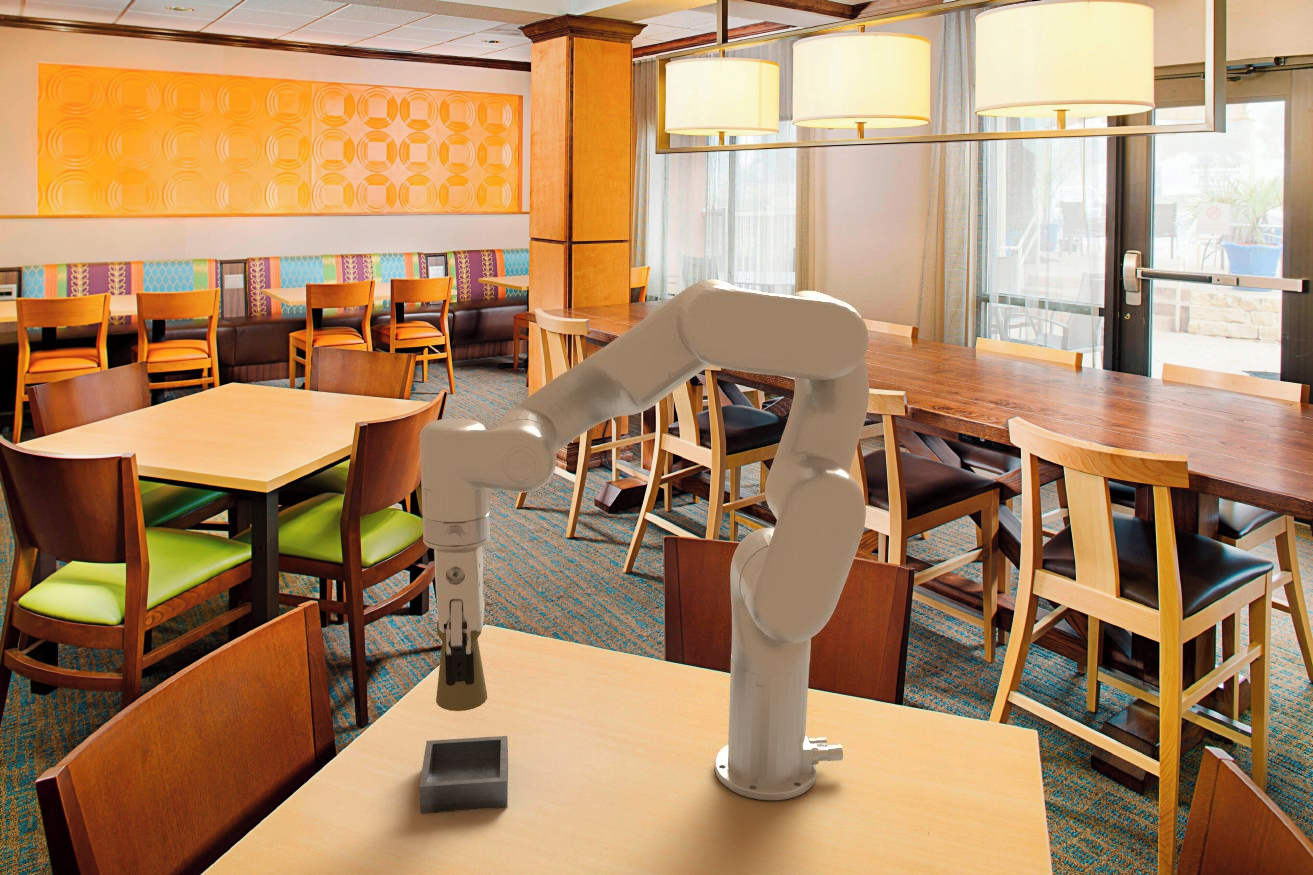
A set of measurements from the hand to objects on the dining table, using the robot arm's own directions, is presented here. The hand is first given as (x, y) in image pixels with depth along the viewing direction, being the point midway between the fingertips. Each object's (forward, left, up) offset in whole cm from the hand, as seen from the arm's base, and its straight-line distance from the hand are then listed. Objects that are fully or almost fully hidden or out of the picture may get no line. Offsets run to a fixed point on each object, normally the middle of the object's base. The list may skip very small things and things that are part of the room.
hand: (461, 673), depth 117 cm
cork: (0, 0, -3) cm, 3 cm away
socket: (0, 0, -15) cm, 15 cm away
